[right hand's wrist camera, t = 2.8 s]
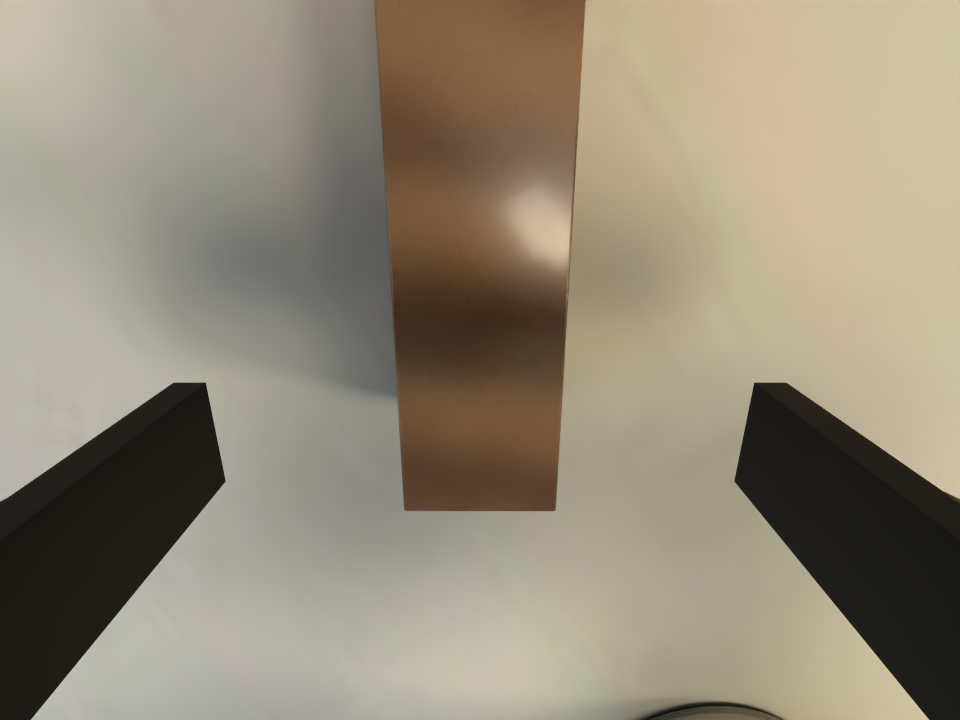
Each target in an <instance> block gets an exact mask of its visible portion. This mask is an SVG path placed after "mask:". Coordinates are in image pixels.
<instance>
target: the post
mask: <svg viewBox="0 0 960 720" xmlns="http://www.w3.org/2000/svg"><path fill="white" fill-rule="evenodd" d="M374 2H375V19H376V36H377V53H378V70H379V87H380V104H381V121H382V139H383V156H384V173H385V190H386V207H387V224H388V241H389V259H390V276H391V293H392V310H393V327H394V344H395V361H396V378H397V396H398V413H399V430H400V447H401V464H402V481H403V498H404V510H405V511H555V509H556V496H557V479H558V461H559V444H560V427H561V410H562V393H563V376H564V359H565V342H566V324H567V307H568V290H569V273H570V256H571V239H572V222H573V205H574V188H575V170H576V153H577V136H578V119H579V102H580V85H581V68H582V51H583V33H584V16H585V0H374Z"/></svg>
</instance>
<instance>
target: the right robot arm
mask: <svg viewBox="0 0 960 720" xmlns="http://www.w3.org/2000/svg"><path fill="white" fill-rule="evenodd" d="M224 483H225V476H224V471H223V466H222V461H221V456H220V451H219V446H218V441H217V436H216V432H215V427H214V422H213V417H212V412H211V407H210V402H209V397H208V392H207V387H206V383H173V384H171V385H170V386H168V387H167V388H165V389H164V390H163V391H161V392H160V393H158V394H157V395H155V396H154V397H152V398H151V399H150V400H148V401H147V402H145V403H144V404H142V405H141V406H139V407H138V408H137V409H135V410H134V411H132V412H131V413H129V414H128V415H127V416H125V417H124V418H122V419H121V420H119V421H118V422H116V423H115V424H114V425H112V426H111V427H109V428H108V429H106V430H105V431H103V432H102V433H101V434H99V435H98V436H96V437H95V438H93V439H92V440H90V441H89V442H88V443H86V444H85V445H83V446H82V447H80V448H79V449H78V450H76V451H75V452H73V453H72V454H70V455H69V456H67V457H66V458H65V459H63V460H62V461H60V462H59V463H57V464H56V465H54V466H53V467H52V468H50V469H49V470H47V471H46V472H44V473H43V474H41V475H40V476H39V477H37V478H36V479H34V480H33V481H31V482H30V483H29V484H27V485H26V486H24V487H23V488H21V489H20V490H18V491H17V492H16V493H14V494H13V495H11V496H10V497H8V498H7V499H4V500H2V501H0V720H31V719H32V717H33V716H34V715H35V714H36V713H37V711H38V710H39V709H40V708H41V706H42V705H43V704H44V703H45V702H46V700H47V699H48V698H49V697H50V695H51V694H52V693H53V692H54V691H55V689H56V688H57V687H58V686H59V684H60V683H61V682H62V681H63V680H64V678H65V677H66V676H67V675H68V673H69V672H70V671H71V670H72V669H73V667H74V666H75V665H76V664H77V662H78V661H79V660H80V659H81V658H82V656H83V655H84V654H85V653H86V651H87V650H88V649H89V648H90V647H91V645H92V644H93V643H94V642H95V640H96V639H97V638H98V637H99V636H100V634H101V633H102V632H103V631H104V629H105V628H106V627H107V626H108V625H109V623H110V622H111V621H112V620H113V618H114V617H115V616H116V615H117V614H118V612H119V611H120V610H121V609H122V607H123V606H124V605H125V604H126V603H127V601H128V600H129V599H130V598H131V596H132V595H133V594H134V593H135V591H136V590H137V589H138V588H139V587H140V585H141V584H142V583H143V582H144V580H145V579H146V578H147V577H148V576H149V574H150V573H151V572H152V571H153V569H154V568H155V567H156V566H157V565H158V563H159V562H160V561H161V560H162V558H163V557H164V556H165V555H166V554H167V552H168V551H169V550H170V549H171V547H172V546H173V545H174V544H175V543H176V541H177V540H178V539H179V538H180V536H181V535H182V534H183V533H184V532H185V530H186V529H187V528H188V527H189V525H190V524H191V523H192V522H193V521H194V519H195V518H196V517H197V516H198V514H199V513H200V512H201V511H202V510H203V508H204V507H205V506H206V505H207V503H208V502H209V501H210V500H211V499H212V497H213V496H214V495H215V494H216V492H217V491H218V490H219V489H220V488H221V486H222V485H223V484H224ZM735 483H736V484H737V485H738V486H739V488H740V489H741V490H742V491H743V492H744V494H745V495H746V496H747V497H748V499H749V500H750V501H751V502H752V503H753V505H754V506H755V507H756V508H757V510H758V511H759V512H760V513H761V514H762V516H763V517H764V518H765V519H766V521H767V522H768V523H769V524H770V525H771V527H772V528H773V529H774V530H775V532H776V533H777V534H778V535H779V536H780V538H781V539H782V540H783V541H784V543H785V544H786V545H787V546H788V547H789V549H790V550H791V551H792V552H793V554H794V555H795V556H796V557H797V558H798V560H799V561H800V562H801V563H802V565H803V566H804V567H805V568H806V569H807V571H808V572H809V573H810V574H811V576H812V577H813V578H814V579H815V580H816V582H817V583H818V584H819V585H820V587H821V588H822V589H823V590H824V591H825V593H826V594H827V595H828V596H829V598H830V599H831V600H832V601H833V603H834V604H835V605H836V606H837V607H838V609H839V610H840V611H841V612H842V614H843V615H844V616H845V617H846V618H847V620H848V621H849V622H850V623H851V625H852V626H853V627H854V628H855V629H856V631H857V632H858V633H859V634H860V636H861V637H862V638H863V639H864V640H865V642H866V643H867V644H868V645H869V647H870V648H871V649H872V650H873V651H874V653H875V654H876V655H877V656H878V658H879V659H880V660H881V661H882V662H883V664H884V665H885V666H886V667H887V669H888V670H889V671H890V672H891V673H892V675H893V676H894V677H895V678H896V680H897V681H898V682H899V683H900V684H901V686H902V687H903V688H904V689H905V691H906V692H907V693H908V694H909V695H910V697H911V698H912V699H913V700H914V702H915V703H916V704H917V705H918V706H919V708H920V709H921V710H922V711H923V713H924V714H925V715H926V716H927V717H928V719H929V720H960V499H958V498H956V497H954V496H952V495H950V494H948V493H946V492H943V491H942V490H940V489H939V488H937V487H936V486H934V485H933V484H931V483H930V482H929V481H927V480H926V479H924V478H923V477H921V476H920V475H919V474H917V473H916V472H914V471H913V470H911V469H910V468H908V467H907V466H906V465H904V464H903V463H901V462H900V461H898V460H897V459H895V458H894V457H893V456H891V455H890V454H888V453H887V452H885V451H884V450H882V449H881V448H880V447H878V446H877V445H875V444H874V443H872V442H871V441H870V440H868V439H867V438H865V437H864V436H862V435H861V434H859V433H858V432H857V431H855V430H854V429H852V428H851V427H849V426H848V425H846V424H845V423H844V422H842V421H841V420H839V419H838V418H836V417H835V416H833V415H832V414H831V413H829V412H828V411H826V410H825V409H823V408H822V407H821V406H819V405H818V404H816V403H815V402H813V401H812V400H810V399H809V398H808V397H806V396H805V395H803V394H802V393H800V392H799V391H797V390H796V389H795V388H793V387H792V386H790V385H789V384H787V383H754V387H753V392H752V397H751V402H750V407H749V412H748V417H747V422H746V427H745V432H744V436H743V441H742V446H741V451H740V456H739V461H738V466H737V471H736V476H735ZM650 720H780V719H778V718H777V717H774V716H771V715H769V714H766V713H763V712H759V711H756V710H751V709H746V708H739V707H729V706H707V707H696V708H689V709H683V710H679V711H674V712H671V713H667V714H664V715H661V716H658V717H655V718H653V719H650Z"/></svg>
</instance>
